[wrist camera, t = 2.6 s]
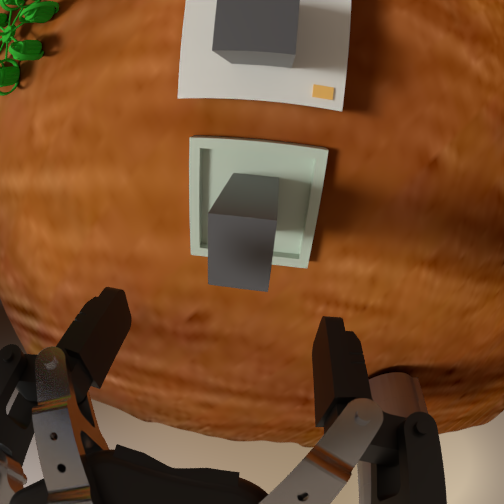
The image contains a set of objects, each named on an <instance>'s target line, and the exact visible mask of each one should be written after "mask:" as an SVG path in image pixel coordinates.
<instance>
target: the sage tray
mask: <svg viewBox="0 0 504 504" xmlns="http://www.w3.org/2000/svg"><path fill="white" fill-rule="evenodd" d="M328 151H329V150H328V149H327V148H325V147H319V146H312V145H305V144H298V143H290V142H282V141H273V140H263V139H252V138H239V137H223V136H200V135H194V136H192V137H190V150H189V206H190V244H191V255H198V256H206V257H208V212H209V211H210V209H211V207H212V206H213V204H214V203H215V201H216V199H217V198H218V196H219V195H220V193H221V191H222V190H223V188H224V187H225V185H226V184H227V182H228V180H229V179H230V177H231V176H232V174H233V173H239V174H250V175H260V176H269V177H278V178H279V195H278V216H277V227H276V234H275V242H274V250H273V257H272V264H273V265H282V266H290V267H299V268H307V267H308V262H309V257H310V252H311V248H312V243H313V238H314V232H315V227H316V222H317V217H318V211H319V206H320V200H321V194H322V188H323V183H324V176H325V170H326V164H327V157H328Z"/></svg>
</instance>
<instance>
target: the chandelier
mask: <svg viewBox="0 0 504 504" xmlns="http://www.w3.org/2000/svg"><path fill="white" fill-rule="evenodd" d="M34 1H35V2H34V3H32V4H30V5H27V6H23V5H24V3H25V1H24V0H0V4H1V6H2V8H3V9H5V10H6V11H10V16H9V23H8V21H7V22H6V19H7V15H6V14H4V13H0V29H1V30H3V31H4V32H2V33H0V36H2V38H1V39H0V41H1V40H2V41H3V44H2V46H1V48H0V52H1V50H2V47H3V45H4V43H6V55H5V59H4V60H2V61H1V60H0V63H1V64H2V68H1V67H0V87H3V86H9V85H13V84H15V83H16V84H15V86H14V87H13V89H12V90H11V91H10V92H6V93H4V92H1V91H0V95H7V94H9V93H11V92H12V91H14V90H15V89H16V87H17V86H18V84H19V76H20V69H19V65H18V64H17V62H16V61H15V60H13V59H9V58H7V53H8V43H9V42H10V41H11V40H12V39H13V40H14V41H15V42H13V43H11V45H10V47H9V52H10V53H11V54H12V55H13V58H14V59H17V60H20V61H23V60H38V59H40V58H41V57H42V55H43V54H44V51H43V50H42V51H41V49H42V44H41V42H40V41H38V40H24V41H17V40H16V39H15V38H14V35H15V31H16V29H17V28H18V27H20V26H21V25H22V24H24V23H33V22H36V23H44V22H47V21H49V20H50V19H51V18H52V16H53V14H55V13H57V12H58V10H59V4H58V3H57V2H53V1H45V2H40V1H41V0H34ZM22 2H23V3H22ZM38 2H39V3H38ZM21 3H22V4H21ZM6 4H8V5H18V6H19V7H17V8H10V7H8V6H7V5H6ZM20 4H21V5H20ZM20 7H21V10H20V11H19V13H18V15H17V17H16V18H15V20H14V22H13V24H12V25H11V26H10V22H11V15H12V11H15V10H17V9H19V8H20ZM55 7H56V9H55ZM23 8H25V9H24V10H23ZM22 10H23V11H22ZM21 11H22V12H21ZM54 11H55V12H54ZM23 14H24V15H25V18H23V17H22V15H23ZM19 15H20V16H19ZM18 16H19V21H20V22H22V23H21V24H19V25H18V26H17V27H16V26H15V25H14V24H15V22H16V20H17V18H18ZM5 22H6V23H5ZM7 23H8V27H7V28H6V29H4V28H3V27H5V26H6V25H7ZM40 52H41V53H40ZM39 54H40V55H39ZM3 62H10V63H12V64H13V65H14V66H11V67H4V63H3ZM17 74H18V75H17Z"/></svg>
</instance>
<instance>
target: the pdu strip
mask: <svg viewBox="0 0 504 504" xmlns="http://www.w3.org/2000/svg"><path fill="white" fill-rule="evenodd" d="M350 20H351V0H186V5H185V13H184V21H183V31H182V41H181V53H180V66H179V83H178V98H227V99H247V100H261V101H272V102H282V103H290V104H298V105H306V106H312V107H319V108H325V109H331V110H336V111H342V109H343V101H344V92H345V83H346V73H347V62H348V51H349V37H350Z"/></svg>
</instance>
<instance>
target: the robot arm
mask: <svg viewBox="0 0 504 504" xmlns="http://www.w3.org/2000/svg"><path fill="white" fill-rule="evenodd" d="M130 327H131V314H130V310H129V307H128V303H127V299H126V295H125V292H124V291H123V290H121V289H116V288H111V287H106V288H104V290H103V291H102V292H101V294H100V295H99V297H94V298H93V299H91V300H90V301H88V302H87V303H86V304H85V305H84V307H83V308H82V309H81V311H80V314H78V315H77V316H76V318H75V321H73V322H72V324H71V325H70V326H69V328H68V329H67V331H66V332H65V334H64V335H63V337H62V338H61V340H60V341H59V343H58V344H57V346H56V347H47V348H45V349H43V350H42V351H41V352H40V353H39V354H38V355H31V354H23V352H22V351H21V349H20V348H19V347H18V346H17V345H14V344H10V345H7V346H5V347H3V349H1V350H0V504H330V503H331V502H332V501H333V500H334V498H335V497H336V496H337V495H338V493H339V492H340V491H341V490H342V488H343V487H344V486H345V484H346V483H347V482H348V480H349V478H350V476H351V471H352V470H353V468H354V467H355V465H356V464H357V467H358V484H359V504H447V501H446V486H445V477H444V468H443V460H442V453H441V447H440V441H439V435H438V429H437V425H436V422H435V420H434V419H433V418H432V417H431V416H430V415H429V414H428V411H427V407H426V404H425V400H424V396H423V393H422V390H421V386H420V383H419V380H418V377H416V378H413V377H411V376H410V375H409V374H406V373H401V372H393V373H386V374H382V375H379V376H376V377H373V378H371V379H368V374H367V369H366V365H365V360H364V355H363V351H362V346H361V342H360V340H359V339H358V338H357V336H356V335H355V333H354V332H353V331H345V327H344V322H343V319H342V318H340V317H326V316H323V317H322V319H321V322H320V325H319V328H318V331H317V334H316V337H315V340H314V343H313V349H312V362H313V378H314V398H315V424H316V427H324V436H323V437H322V438H321V439H320V440H319V442H318V443H317V444H316V445H315V446H314V448H313V449H312V450H311V451H310V452H309V453H308V455H307V456H306V457H305V458H304V459H303V460H302V461H301V462H300V463H299V464H298V465H297V467H296V468H295V469H294V470H293V471H292V472H291V473H290V474H289V475H288V476H287V477H286V478H285V479H284V480H283V481H282V482H281V483H280V484H279V485H278V486H277V487H276V488H275V489H274V490H273V491H272V492H271V493H270V494H267V493H266V492H265V491H264V490H263V489H261V488H260V487H259V486H257V485H255V484H253V483H252V482H250V481H247V480H245V479H242V478H239V472H231V471H224V470H217V469H211V468H190V469H187V468H186V469H183V468H182V469H181V468H179V469H178V468H171V467H169V466H167V465H165V464H163V463H161V462H159V461H158V460H156V459H154V458H152V457H150V456H148V455H147V454H145V453H142V452H139V451H136V450H132V449H129V448H126V447H124V446H120V445H118V444H117V445H116V448H115V450H109V448H108V445H107V443H106V441H105V439H104V438H103V437H102V434H101V432H100V430H99V427H98V424H97V420H96V417H95V413H94V410H93V406H92V402H91V398H90V394H89V392H88V390H89V388H90V386H93V387H96V388H99V389H100V388H101V386H102V384H103V381H104V379H105V377H106V375H107V373H108V371H109V369H110V367H111V365H112V363H113V361H114V359H115V357H116V355H117V353H118V351H119V349H120V347H121V345H122V343H123V341H124V339H125V337H126V336H127V334H128V332H129V330H130ZM15 388H16V389H17V390H18V391H19V393H18V395H17V397H16V399H15V401H14V403H13V405H12V407H11V410H10V412H9V414H8V415H7V414H6V406H7V403H8V401H9V399H10V397H11V395H12V393H13V391H14V389H15ZM34 433H35V439H36V445H37V450H38V455H39V459H40V464H41V468H42V472H43V476H44V479H42V480H40V481H38V482H36V483H34V484H32V485H29V486H27V487H25V488H23V485H24V484H26V483H27V477H26V475H25V474H24V473H23V469H22V465H23V462H24V459H25V456H26V453H27V450H28V448H29V445H30V442H31V440H32V437H33V434H34Z"/></svg>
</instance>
